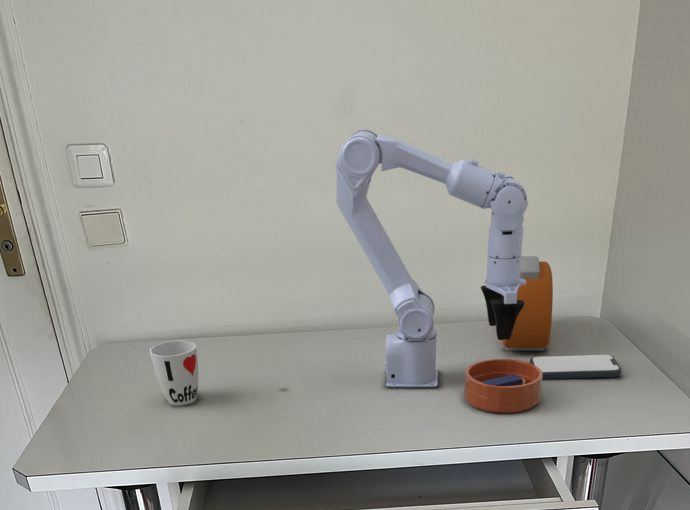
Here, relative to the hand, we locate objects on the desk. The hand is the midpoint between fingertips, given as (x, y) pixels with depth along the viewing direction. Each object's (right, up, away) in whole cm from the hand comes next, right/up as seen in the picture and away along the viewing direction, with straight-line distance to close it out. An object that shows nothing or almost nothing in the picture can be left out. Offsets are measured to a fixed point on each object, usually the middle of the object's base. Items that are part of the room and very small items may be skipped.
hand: (499, 332), depth 132 cm
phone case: (+16, -6, +8) cm, 19 cm away
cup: (-58, -12, +3) cm, 60 cm away
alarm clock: (+10, +4, +25) cm, 27 cm away
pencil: (-1, -12, -3) cm, 12 cm away
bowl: (0, -12, -2) cm, 13 cm away
